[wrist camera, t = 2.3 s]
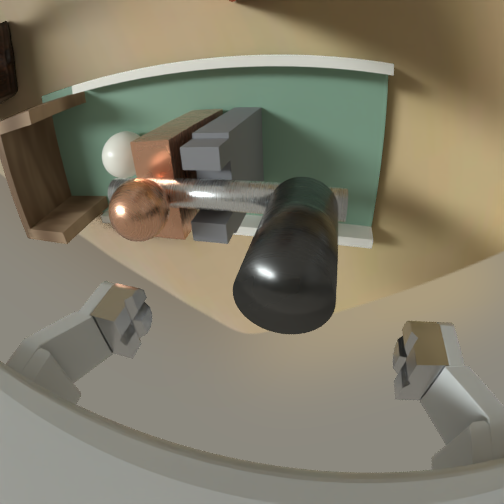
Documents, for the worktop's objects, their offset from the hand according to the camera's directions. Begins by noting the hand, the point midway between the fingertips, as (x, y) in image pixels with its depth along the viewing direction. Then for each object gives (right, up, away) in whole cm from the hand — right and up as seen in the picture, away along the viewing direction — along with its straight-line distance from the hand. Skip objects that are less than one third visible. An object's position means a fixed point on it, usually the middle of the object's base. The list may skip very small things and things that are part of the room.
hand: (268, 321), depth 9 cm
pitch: (-6, +11, +16) cm, 21 cm away
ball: (-11, +10, +14) cm, 21 cm away
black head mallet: (0, +10, +13) cm, 17 cm away
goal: (-19, +12, +18) cm, 29 cm away
